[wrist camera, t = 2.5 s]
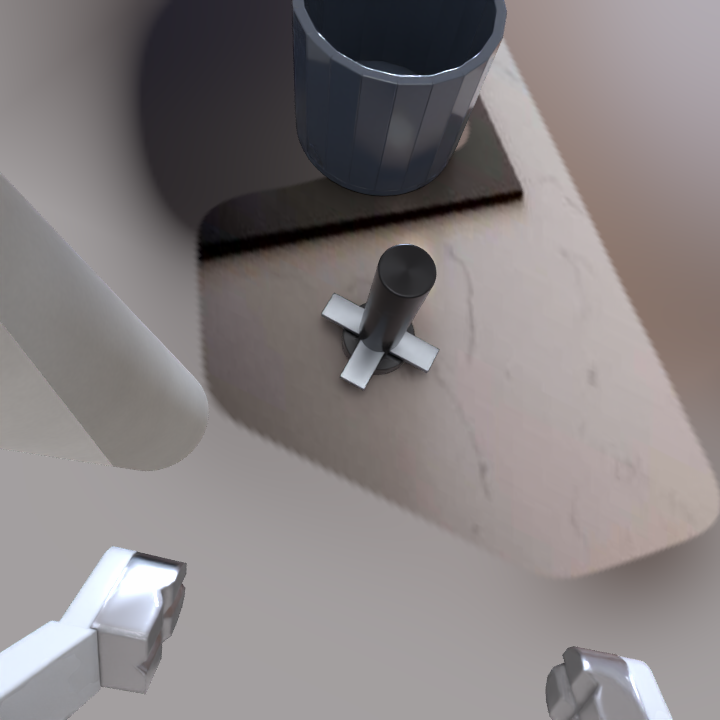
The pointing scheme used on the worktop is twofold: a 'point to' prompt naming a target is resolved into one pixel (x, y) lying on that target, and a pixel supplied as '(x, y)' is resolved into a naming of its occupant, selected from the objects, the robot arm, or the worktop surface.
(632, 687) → the robot arm
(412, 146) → the processor bowl
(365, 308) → the blade unit
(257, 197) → the worktop surface
